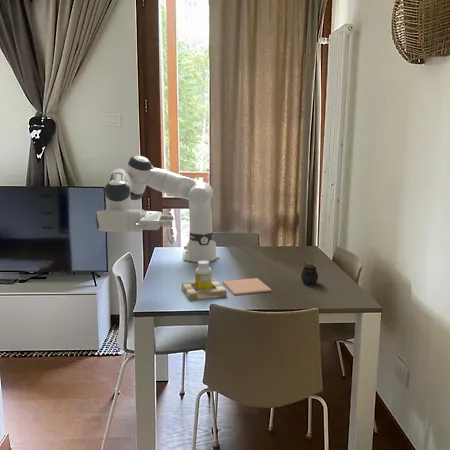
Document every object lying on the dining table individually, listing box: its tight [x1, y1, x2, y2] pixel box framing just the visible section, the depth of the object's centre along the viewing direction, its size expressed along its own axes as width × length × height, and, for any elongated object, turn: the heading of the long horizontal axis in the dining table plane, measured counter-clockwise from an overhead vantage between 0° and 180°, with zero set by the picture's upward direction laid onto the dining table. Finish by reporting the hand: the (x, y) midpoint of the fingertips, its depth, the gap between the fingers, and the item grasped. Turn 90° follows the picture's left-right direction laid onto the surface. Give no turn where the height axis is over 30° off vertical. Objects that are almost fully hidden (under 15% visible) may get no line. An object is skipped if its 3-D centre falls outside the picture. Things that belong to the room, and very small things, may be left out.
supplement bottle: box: [194, 261, 213, 291], centre depth 192 cm, size 7×7×13 cm
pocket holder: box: [181, 278, 228, 301], centre depth 193 cm, size 15×15×2 cm
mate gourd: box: [300, 262, 319, 285], centre depth 204 cm, size 7×8×10 cm
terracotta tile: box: [222, 277, 272, 296], centre depth 199 cm, size 16×16×1 cm
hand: (172, 220), depth 186 cm, fingers open, 8 cm apart
